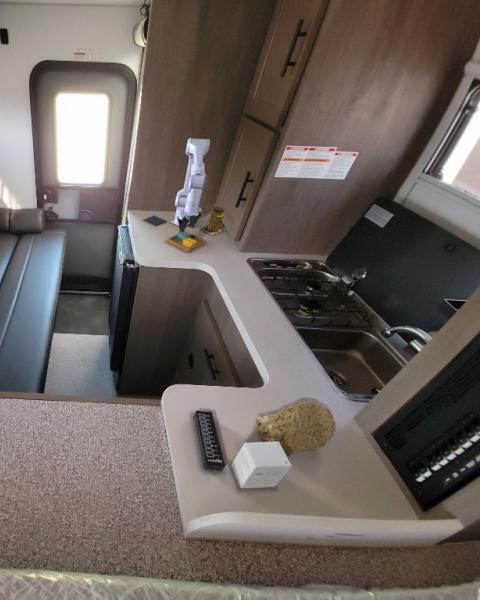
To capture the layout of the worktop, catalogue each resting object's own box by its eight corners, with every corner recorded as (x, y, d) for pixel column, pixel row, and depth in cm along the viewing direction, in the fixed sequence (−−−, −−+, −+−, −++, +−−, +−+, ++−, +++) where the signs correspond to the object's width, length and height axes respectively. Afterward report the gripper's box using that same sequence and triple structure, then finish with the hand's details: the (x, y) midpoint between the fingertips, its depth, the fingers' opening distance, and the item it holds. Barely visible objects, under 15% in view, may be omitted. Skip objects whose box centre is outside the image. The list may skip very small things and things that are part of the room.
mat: (154, 216, 190) (154, 215, 190) (166, 221, 184) (166, 221, 184) (143, 220, 185) (143, 219, 185) (155, 226, 180) (155, 225, 180)
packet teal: (181, 236, 170) (182, 230, 168) (189, 239, 167) (190, 234, 165) (176, 238, 168) (177, 233, 166) (184, 242, 165) (185, 236, 163)
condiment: (222, 230, 176) (228, 209, 168) (212, 235, 172) (218, 213, 165) (210, 226, 181) (216, 205, 173) (201, 230, 177) (206, 208, 169)
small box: (262, 463, 79) (279, 440, 72) (274, 488, 74) (293, 466, 68) (230, 464, 78) (244, 441, 72) (239, 489, 74) (255, 467, 67)
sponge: (271, 465, 80) (356, 451, 78) (273, 443, 76) (362, 428, 75) (245, 422, 91) (319, 409, 90) (246, 402, 88) (322, 388, 86)
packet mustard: (187, 242, 164) (188, 237, 163) (195, 246, 161) (196, 241, 159) (182, 245, 162) (183, 239, 161) (190, 249, 159) (191, 243, 157)
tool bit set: (210, 416, 88) (212, 411, 87) (223, 471, 77) (225, 466, 76) (193, 415, 89) (195, 410, 87) (203, 469, 77) (206, 464, 76)
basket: (184, 234, 172) (185, 231, 171) (205, 243, 164) (206, 240, 163) (166, 242, 165) (167, 238, 164) (188, 252, 157) (189, 249, 156)
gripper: (190, 208, 143) (183, 236, 152) (209, 201, 150) (202, 228, 159) (177, 203, 148) (171, 231, 156) (196, 196, 155) (190, 223, 163)
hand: (186, 229), depth 158 cm, fingers open, 7 cm apart
